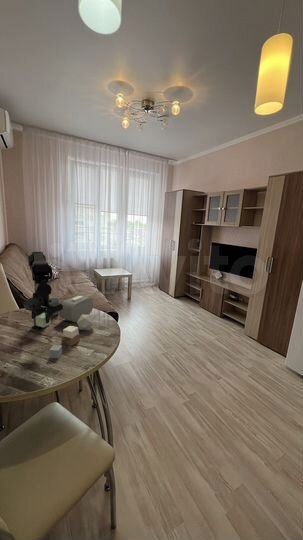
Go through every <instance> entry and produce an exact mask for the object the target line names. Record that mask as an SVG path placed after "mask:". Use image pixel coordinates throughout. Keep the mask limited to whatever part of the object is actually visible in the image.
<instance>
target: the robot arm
mask: <svg viewBox="0 0 303 540" xmlns="http://www.w3.org/2000/svg"><path fill="white" fill-rule="evenodd" d="M27 264H28V265H27V266H28V267H29V269H30V270H31V279H32V282H33V285H34V286H33V287H34V292H33V293H32V297H29V298H26V299H24V300H23V301H22V306H23V307H24V309H25V311H29V312H30V313H31V320H33V325H32V326H31V328H32V329H36V330H39V331H41V330H43V329H45V328H47V327H48V326H50V324H49V325H47V326H45V327H40V326H36V316H38V315H40V314H42V313H45V318H46V323H49V321H50V319H51V320H52V317H53V316H52V315H53V313H56V312H58V311H60V310H62V309H63V305H62V302H60V303H56V302H55V303H53V304H49V303H50V302H52V301H51V300H50V299H49V298H50V295H51V294H52V291H53V290H52V289H53V288H52V287H51V285H50V280H52V279H53V277H54V275H53V268H52V266H51V265H50V263H49V262H48V261H47V258H46V255H44V252H43V251H32V252H31V254H29V255H28V256H27Z"/></svg>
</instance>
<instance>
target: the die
mask: <svg viewBox="0 0 303 540" xmlns="http://www.w3.org/2000/svg"><path fill="white" fill-rule="evenodd" d="M76 324H77V325H78V329H79V330H80V331H90V330H91V329H92V327H93V326H94V324H95V321H94V318H93V315H92V314H89V315H81V317H80V318H79V320H78V321H77V322H76Z"/></svg>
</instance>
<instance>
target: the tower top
mask: <svg viewBox="0 0 303 540" xmlns="http://www.w3.org/2000/svg"><path fill="white" fill-rule="evenodd" d="M78 333H79V326H78V327H77V326H73V325H69V326H67V327H66V328H64V329H63V331H62V334H63V335H62V336H64V337H68V338H73V337H75V336H76V335H78Z"/></svg>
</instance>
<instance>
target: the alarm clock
mask: <svg viewBox="0 0 303 540" xmlns="http://www.w3.org/2000/svg"><path fill="white" fill-rule="evenodd" d="M61 304H62V305H63V309H62V310H60V311H59V313H58V315H59V318H60V319H62V320H65V321H68V322H73V323H77V321H78V320H79V318H80V317H81V315H91V313H92V311H93V308H94V300H93V298H92V297H90V296H84V295H75V296H73V297H70V298H68V299H66V300H64V301H62V302H61Z"/></svg>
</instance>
